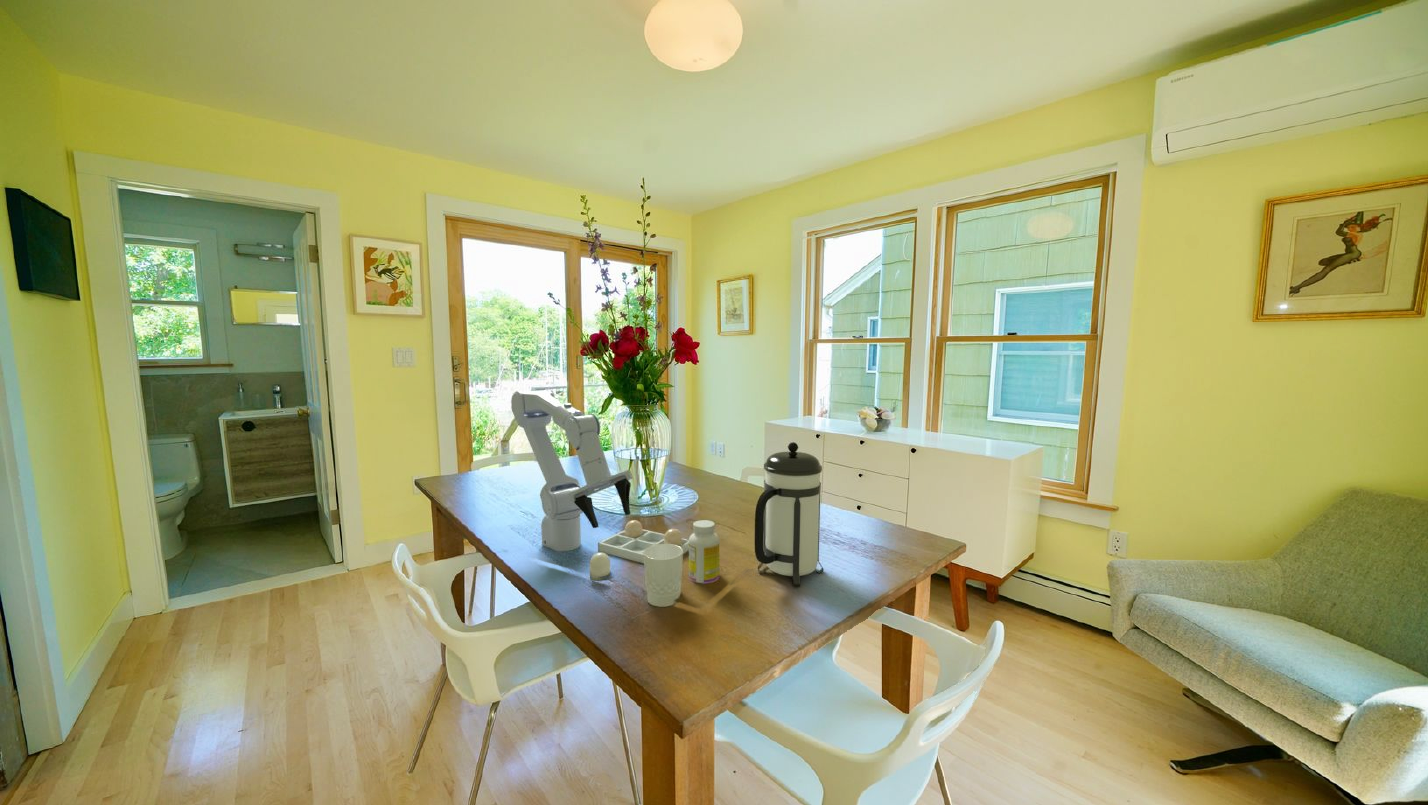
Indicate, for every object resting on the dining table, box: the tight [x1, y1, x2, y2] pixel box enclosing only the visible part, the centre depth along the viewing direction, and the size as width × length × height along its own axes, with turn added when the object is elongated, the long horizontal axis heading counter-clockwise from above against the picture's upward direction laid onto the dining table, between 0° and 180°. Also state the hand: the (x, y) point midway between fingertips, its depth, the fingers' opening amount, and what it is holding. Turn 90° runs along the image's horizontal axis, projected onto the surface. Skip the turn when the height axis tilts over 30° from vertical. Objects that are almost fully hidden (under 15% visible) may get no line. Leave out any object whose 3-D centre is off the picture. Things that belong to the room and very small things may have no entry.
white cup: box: [643, 544, 684, 608], centre depth 97 cm, size 8×8×10 cm
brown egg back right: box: [664, 528, 683, 547], centre depth 119 cm, size 4×4×5 cm
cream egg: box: [589, 551, 611, 582], centre depth 107 cm, size 4×4×5 cm
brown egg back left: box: [624, 519, 643, 539], centre depth 126 cm, size 4×4×5 cm
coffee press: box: [754, 441, 824, 588], centre depth 107 cm, size 17×16×30 cm
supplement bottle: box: [688, 519, 720, 584], centre depth 105 cm, size 7×7×13 cm
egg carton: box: [597, 528, 689, 564], centre depth 120 cm, size 19×13×3 cm
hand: (611, 521), depth 107 cm, fingers open, 7 cm apart
